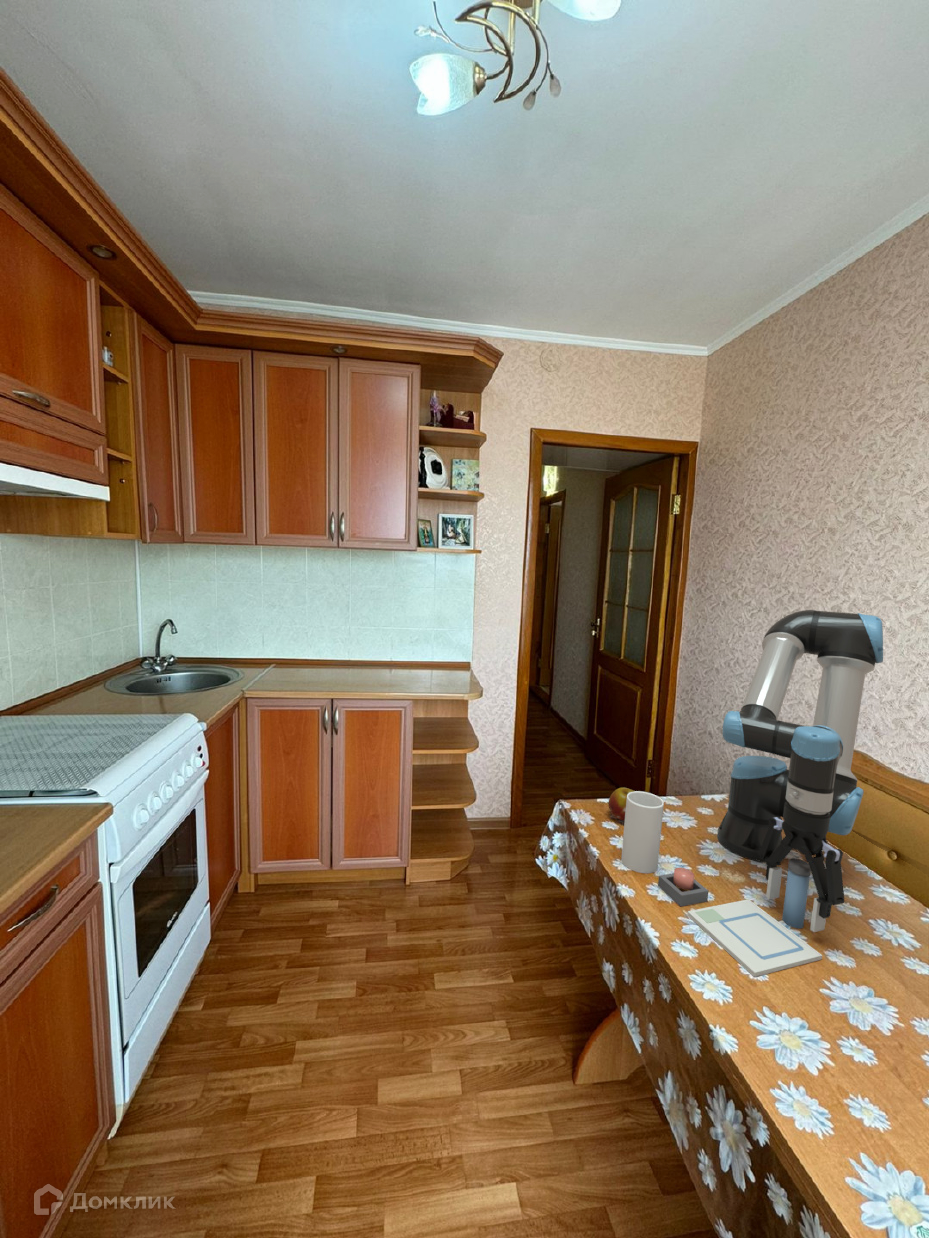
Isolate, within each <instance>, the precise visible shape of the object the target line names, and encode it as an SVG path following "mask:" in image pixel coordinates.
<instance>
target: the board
mask: <svg viewBox="0 0 929 1238" xmlns="http://www.w3.org/2000/svg"><path fill="white" fill-rule="evenodd" d="M686 915H687V917H688V918H690V919H691V920H692V921H693V922H694V923H695V924H697V926H698V927H700V929H702V931H704V932H705V933H706V934H707V935H709V937H710V938H711V939H712V940H714V941H715V942H716V943H717V944H718V945H719V946H720V947H721V948H722V949H724V950H725V951H726V952H727V954H729V956H731V957H732V958H733V959H734V960H736V962H738V963H739V965H740V966H742V967H743V969H745V970H746V971H747V972H748V973H750V974H751V976H753V977H754V978H756V977H760V976H763V975H768V974H772V973H776V972H779V971H782V970H787V969H791V968H794V967H798V966H801V965H805V964H809V963H813V962H817V961H821V960H823V955H822V954H821V953H820V952H818V950H817V949H815V948H814V947H812V946H811V945H810V944H808V943H807V942H806V941H805V940H803V939H801V938H800V937H799V936H798V935H797V934H795V933H794V932H792V931H791V930H790V929H788V928H787V927H786V926H784V925H783V924H782V923H781V922H779V921H778V920H777V919H775V918H774V917H772V915H770V914H768V912H766V910H765V911H764V910H763V909H762V908H761V907H759V906H758V905H757V904H756V903H754V902H753V901H752V900H750V899H742V900H738V901H733V902H732V901H731V902H728V903H722V904H718V905H717V904H716V905H712V906H708V907H702V908H698V909H692V910H688V911H687V914H686Z"/></svg>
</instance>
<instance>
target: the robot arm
mask: <svg viewBox="0 0 929 1238" xmlns="http://www.w3.org/2000/svg"><path fill="white" fill-rule="evenodd" d="M883 629H884V628H883V621H882V619H881V618H880V617H879V616H877V615H872V614H871V615H870V614H865V613H864V614H863V613H859V612H857V613H855V612H854V613H852V612H839V611H824V610H815V609H814V610H813V609H804V610H800V611H799V610H798V611H795V612H792V613H790V614H788V615H785V616H784V617H782V618H780V619H779V620H777V621H776V622H775V623H774V624H772V625H771V626H770V628H769V629H768V630H767V632H766V633H765V635H764V637H763V638H762V639H763V640H762V642H761V648H762V650H763V651H762V654H761V657H760V659H759V661H758V663H757V664H758V665H757V667H756V669H755V672H754V675H753V676H752V679H751V681H750V684H749V687H748V690H747V693H746V695H745V697H744V700H743V702H742V705H741V707H740V711H739V710H736V711H735V710H729V711H728V712H727V713H726V714H725V716H724V720H723V722H722V723H723V724H722V738H723V740H724V741H725V742H727V743H729V744H732V745H735V746H738V747H740V748H747V749H750V750H756V751H759V752H763V753H768V754H772V755H776V756H779V757H782V758H786V759H787V758H788V759H789V768H788V765H787V764H786V762H785V761H784V760H781V759H778V758H775V757H771V756H765V755H744V756H740V757H738V758H736V759H735V760H734V762H733V765H732V770H731V773H730V785H729V786H730V787H729V794H728V804H727V811H726V813H725V815H724V817H723V818H722V821H721V822H720V824H719V826H718V829H717V836H716V837H717V841H718V842H719V843H720V845H722V847H724V848H726V850H728V851H730V852H731V853H734V854H735V855H738V856H740V857H742V858H746V859H748V860H753V861H755V862H763V863H765V865H766V871H765V880H767V885H766V894H765V898H766V899H768V901H770V900H774V899H779V898H780V891H781V890H780V889H781V884H782V883H781V882H782V874H783V868H782V867H781V866H782V862H783V861H784V860H785V858H786V857H788V855H789V854H790V853H791V852H792V851H793V850H794V851H795V850H796V851H798V852H799V853H801V854H802V855H803V856H804V858H805V862H807V863H809V866H810V869H811V875H812V878H813V883H814V885H815V889H816V892H817V895H818V897H814V899H813V905H812V906H813V907H812V911H811V912H812V913H811V920H810V927H809V930H810V931H811V932H813V933H817V932H821V931H824V930H825V928H826V927H825V926H826V921H827V919H829V918H830V917H831V913H832V907H833V906H837V905H842V904H844V903H845V892H844V891H845V890H844V880H843V874H842V873H843V872H842V864H841V863H842V859H843V856H844V852H843V850H842V849H840V848H834V847H833V846H831V845H829V844H828V841H827V834H828V833H832V834H835V835H839V836H847V835H848V834H851V831H852V830H853V827H854V824H855V821H856V819H857V816H858V814H859V809H860V806H861V803H862V799H863V796H864V790H863V788H861V787H859V786H857V785H858V778H857V777H856V775H855V774H854V773H853V772H852V769H851V768H852V763H853V756H854V750H855V743H856V737H857V736H856V735H857V731H858V723H859V718H860V710H861V704H862V697H863V692H864V684H865V678H866V675H867V674H868V673H870V672H872V671H874V670H875V667H876V664H882V663H883V661H884V630H883ZM804 654H808V655H816V656H817V658H816V662H817V663H818V665H819V666H820V667H822V670H821V677H820V682H819V688H818V695H817V699H816V700H817V701H816V707H815V711H814V719H813V724H812V726H809V725H808V726H807V725H803V724H798V723H792V722H787V721H783V720H778V718H779V715H780V712H781V709H782V706H783V703H784V700H785V697H786V693H787V691H788V687H789V684H790V682H791V678H792V676H793V675H792V674H793V673H794V669H795V666H796V663H797V660H800V659H801V658H802V657H803V656H804ZM782 832H784V834H785V836H784V837H783V836H782ZM823 851H824V852H823Z"/></svg>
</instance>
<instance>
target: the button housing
mask: <svg viewBox="0 0 929 1238" xmlns="http://www.w3.org/2000/svg"><path fill="white" fill-rule="evenodd" d="M673 878H674V872H673V873H672V872H671V873H667V874H660V875H658V882H657V887H659V888H660V889H661V890H662V891H663V892H664V893H665V894H666V895H667V896H668V897H669V898H670V899H672V900H673V901H674V902H675V903H676V904H677V905H678V906H679V907H684V906H689V905H695V904H701V903H705V902H708V901H709V900H708V899H709V890H708V889H707V888H706V887H705V886H703V885H702V884H701V883H700V882H698V881H697V880H696V879H695V878H694V884H693V888H692V889H691V890H685V891H681V890H680V888H679V887H677V886H676V885H675V884H674V883H673Z"/></svg>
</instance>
